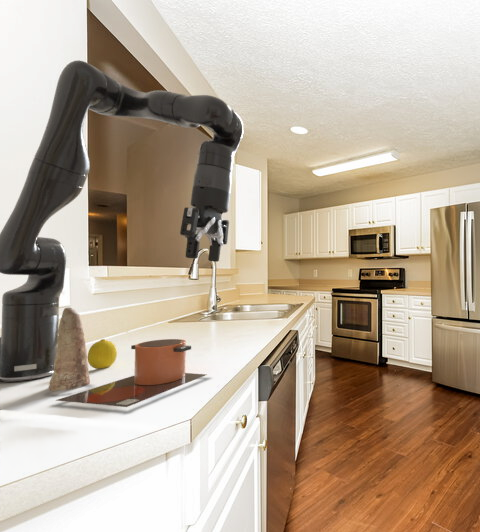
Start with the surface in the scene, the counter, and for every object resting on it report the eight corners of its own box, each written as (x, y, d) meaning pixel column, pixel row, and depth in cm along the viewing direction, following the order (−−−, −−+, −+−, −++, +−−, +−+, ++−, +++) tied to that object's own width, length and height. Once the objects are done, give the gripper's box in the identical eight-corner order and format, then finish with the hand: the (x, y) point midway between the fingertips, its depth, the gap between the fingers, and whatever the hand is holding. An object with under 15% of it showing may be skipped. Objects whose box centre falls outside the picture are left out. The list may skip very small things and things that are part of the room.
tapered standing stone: (41, 399, 69) (72, 399, 69) (33, 312, 66) (65, 313, 67) (69, 384, 75) (98, 384, 75) (63, 304, 72) (93, 305, 73)
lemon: (99, 375, 82) (100, 341, 82) (81, 373, 83) (82, 340, 84) (122, 368, 88) (122, 337, 88) (104, 367, 89) (105, 336, 89)
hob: (53, 405, 63) (54, 399, 64) (149, 374, 83) (150, 369, 83) (126, 412, 61) (126, 406, 61) (207, 378, 80) (208, 374, 80)
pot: (115, 383, 73) (116, 345, 74) (154, 370, 83) (154, 337, 83) (168, 387, 71) (168, 348, 71) (201, 374, 80) (202, 340, 81)
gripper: (212, 196, 84) (204, 261, 83) (175, 177, 70) (164, 255, 69) (242, 199, 84) (234, 263, 83) (211, 180, 70) (201, 258, 69)
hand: (203, 259), depth 76 cm, fingers open, 8 cm apart
